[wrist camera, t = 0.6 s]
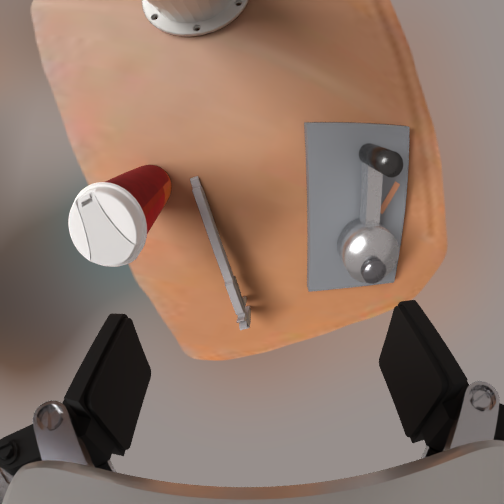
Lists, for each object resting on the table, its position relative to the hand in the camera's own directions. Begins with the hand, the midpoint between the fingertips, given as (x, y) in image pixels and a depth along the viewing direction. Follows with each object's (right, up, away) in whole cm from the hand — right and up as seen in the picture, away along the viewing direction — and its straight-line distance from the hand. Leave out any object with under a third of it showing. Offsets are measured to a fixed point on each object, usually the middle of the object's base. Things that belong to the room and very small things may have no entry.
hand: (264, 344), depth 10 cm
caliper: (-4, +4, +29) cm, 29 cm away
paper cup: (-13, +11, +25) cm, 30 cm away
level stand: (+13, +9, +26) cm, 30 cm away
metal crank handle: (+13, +8, +24) cm, 29 cm away
